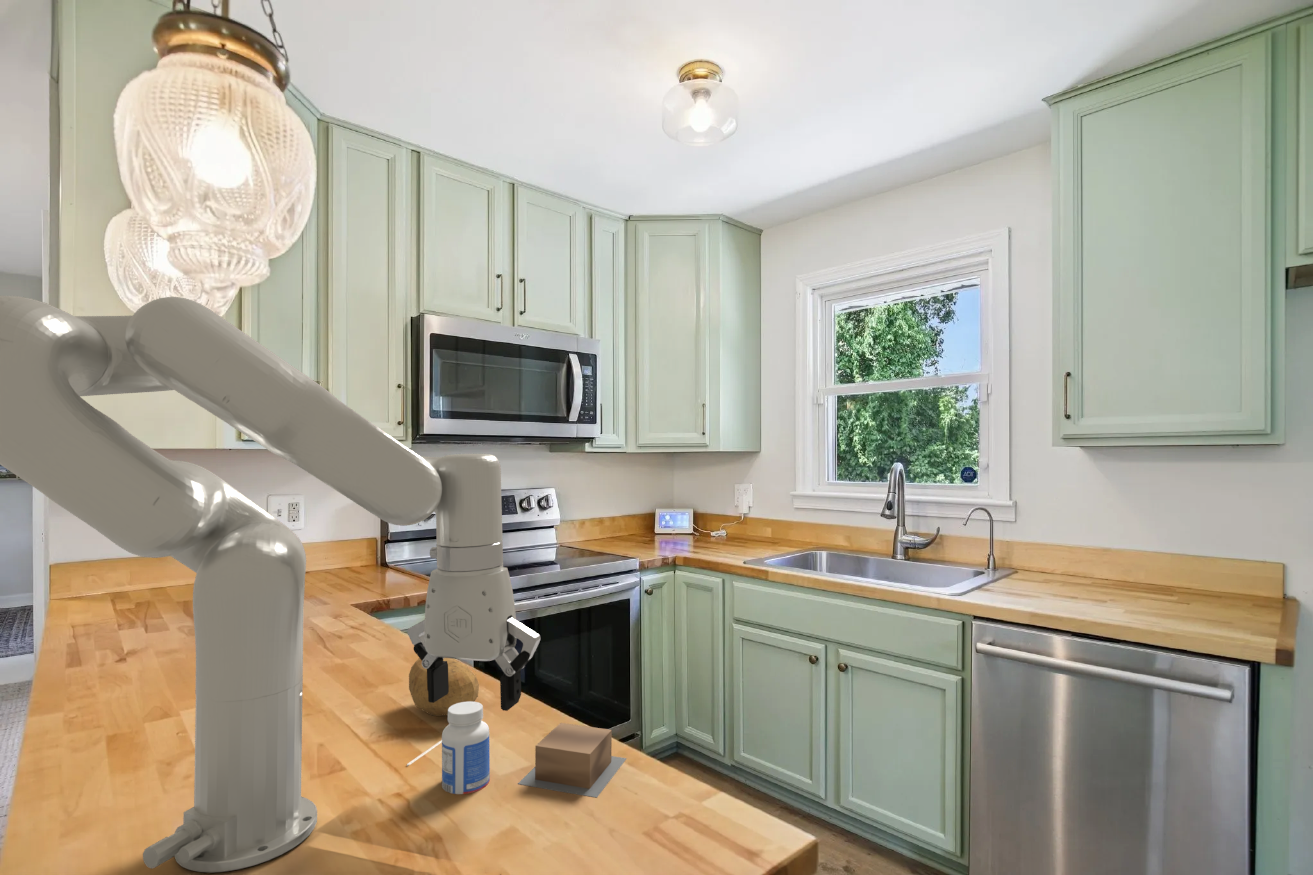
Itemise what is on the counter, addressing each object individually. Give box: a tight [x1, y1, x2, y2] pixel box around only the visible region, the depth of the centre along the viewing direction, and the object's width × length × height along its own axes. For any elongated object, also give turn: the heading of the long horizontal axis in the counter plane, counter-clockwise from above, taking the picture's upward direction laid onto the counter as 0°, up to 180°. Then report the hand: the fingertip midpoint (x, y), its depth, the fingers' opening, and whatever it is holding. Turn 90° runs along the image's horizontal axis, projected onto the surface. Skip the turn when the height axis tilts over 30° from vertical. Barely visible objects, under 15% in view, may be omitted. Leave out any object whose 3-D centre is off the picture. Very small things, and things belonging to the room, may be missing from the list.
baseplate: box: [517, 755, 628, 798], centre depth 82 cm, size 10×10×1 cm
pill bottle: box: [441, 701, 491, 795], centre depth 80 cm, size 6×5×10 cm
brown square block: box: [534, 722, 613, 789], centre depth 83 cm, size 7×7×4 cm
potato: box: [408, 657, 480, 717], centre depth 102 cm, size 10×14×8 cm
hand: (473, 702), depth 80 cm, fingers open, 9 cm apart
